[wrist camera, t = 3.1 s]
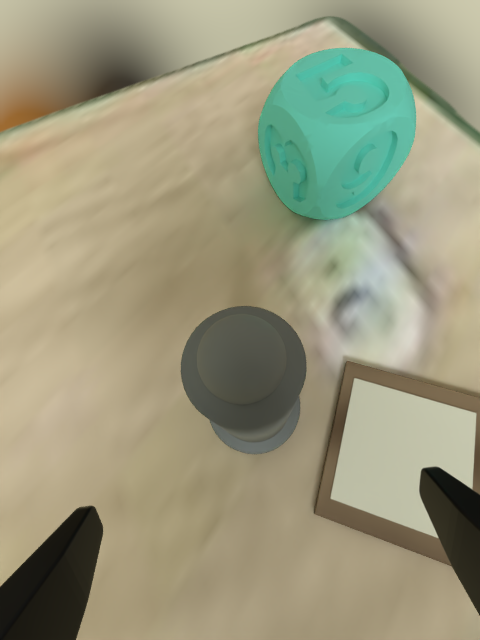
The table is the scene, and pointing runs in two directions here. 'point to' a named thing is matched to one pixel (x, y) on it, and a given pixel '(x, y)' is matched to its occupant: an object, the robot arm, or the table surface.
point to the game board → (395, 455)
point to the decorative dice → (336, 131)
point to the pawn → (246, 377)
